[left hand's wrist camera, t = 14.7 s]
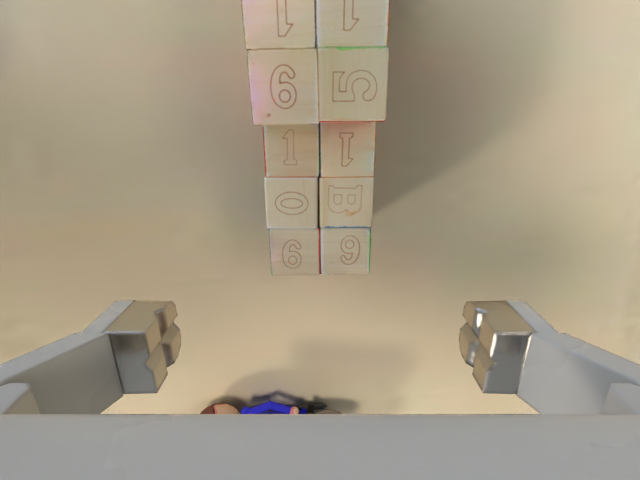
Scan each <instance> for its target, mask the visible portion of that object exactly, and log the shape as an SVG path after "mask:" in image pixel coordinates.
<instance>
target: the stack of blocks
mask: <svg viewBox="0 0 640 480" xmlns="http://www.w3.org/2000/svg"><path fill="white" fill-rule="evenodd" d="M241 4H242V15H243V26H244V37H245V44H246V48H247V52H248V53H247V63H248V74H249V85H250V97H251V108H252V120H253V125H263V141H264V158H265V178H264V191H265V209H266V223H267V228H268V229H269V240H270V257H271V274H272V275H319V274H369V271H370V246H371V226H372V213H373V188H374V171H375V140H376V122H384V121H386V108H387V86H388V63H389V48H388V46H387V41H388V27H389V4H390V0H241Z"/></svg>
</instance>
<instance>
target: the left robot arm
mask: <svg viewBox="0 0 640 480" xmlns="http://www.w3.org/2000/svg"><path fill="white" fill-rule="evenodd" d="M176 317H177V311H176V306H175V304H174V303H173V302H172V301H135V300H122V301H115V302H114V303H113V304H111V305H110V306H109V307H108V308H107V309H106V310H105V311H104V312H103V313H102V314H101V315H100V316H99V317H98V318H97V319H96V320H94V321H93V322H92V323H91V324H90V325H89V326H88V327H87V328H86V329H85V330H84V331H83V332H82V333H74V334H72V335H70V336H67V337H65V338H62V339H60V340H58V341H55V342H53V343H51V344H48V345H46V346H43V347H41V348H39V349H36V350H34V351H32V352H29V353H27V354H25V355H22V356H20V357H17V358H15V359H13V360H10V361H8V362H6V363H3V364H1V365H0V480H640V365H639V364H636V363H634V362H632V361H629V360H627V359H625V358H622V357H620V356H618V355H615V354H613V353H611V352H608V351H606V350H603V349H601V348H599V347H596V346H594V345H592V344H589V343H587V342H585V341H582V340H580V339H578V338H575V337H573V336H570V335H568V334H566V333H558V332H557V331H556V330H555V329H554V328H553V327H552V326H551V325H550V324H549V323H548V322H547V321H546V320H545V319H543V318H542V317H541V316H540V315H539V314H538V313H537V312H536V311H535V310H534V309H533V308H532V307H531V306H530V305H529V304H528V303H527V302H525V301H522V300H511V301H471V302H466V304H465V306H464V310H463V317H464V318H465V320H466V321H467V322H466V324H465V325H464V326H463V327H462V328H461V329H460V335H459V344H460V351H461V354H462V357H463V359H464V360H465V362H466V363H467V364H468V365H470V366H472V367H473V374H472V375H473V377H474V378H475V380H476V382H477V383H478V385H479V387H480V389H481V390H482V392H483V393H499V394H517V396H518V397H519V398H521V399H522V400H523V401H524V402H526V403H527V404H528V405H530V406H531V407H532V408H534V409H535V410H536V411H538V412H539V413H540V414H100V413H101V412H103V411H104V410H105V409H106V408H108V407H109V406H110V405H112V404H113V403H114V402H116V401H117V400H118V399H120V398H121V397H122V396H123V394H140V393H157V392H158V390H159V389H160V387H161V385H162V383H163V382H164V380H165V378H166V376H167V375H168V374H167V367H168V366H170V365H172V364H173V363H174V362H175V360H176V359H177V357H178V354H179V350H180V346H181V334H180V329H179V328H178V327H177V326H176V325H175V324H174V322H173V321H174V320H175V318H176Z"/></svg>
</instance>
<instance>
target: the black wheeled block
mask: <svg viewBox="0 0 640 480" xmlns="http://www.w3.org/2000/svg"><path fill="white" fill-rule="evenodd" d="M325 407H327V406H326V405H324V404H307V405H300V406H298V407H290V406H286V405H283V404H279V403H276V402H272V401H269V402H266V403H263V404H261V405H258V406H255V407H253V408H249V407H243V408H242V410H241V414H299V410H301V411H300V414H314V410H317V409H324V408H325ZM270 409H271V410H275V411H271V412H264V411H267V410H270ZM307 410H308V411H307ZM200 414H240V413H239V412H238V410H237V409H236V408H235V407H233V406H231V405H229V404H226V403H217V404H213V405H211V406H209V407H207V408H206V409H204V410H203V411H202V412H201V413H200ZM316 414H342V413H340V412H338V411H335V410H322V411H319V412H317V413H316Z"/></svg>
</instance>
